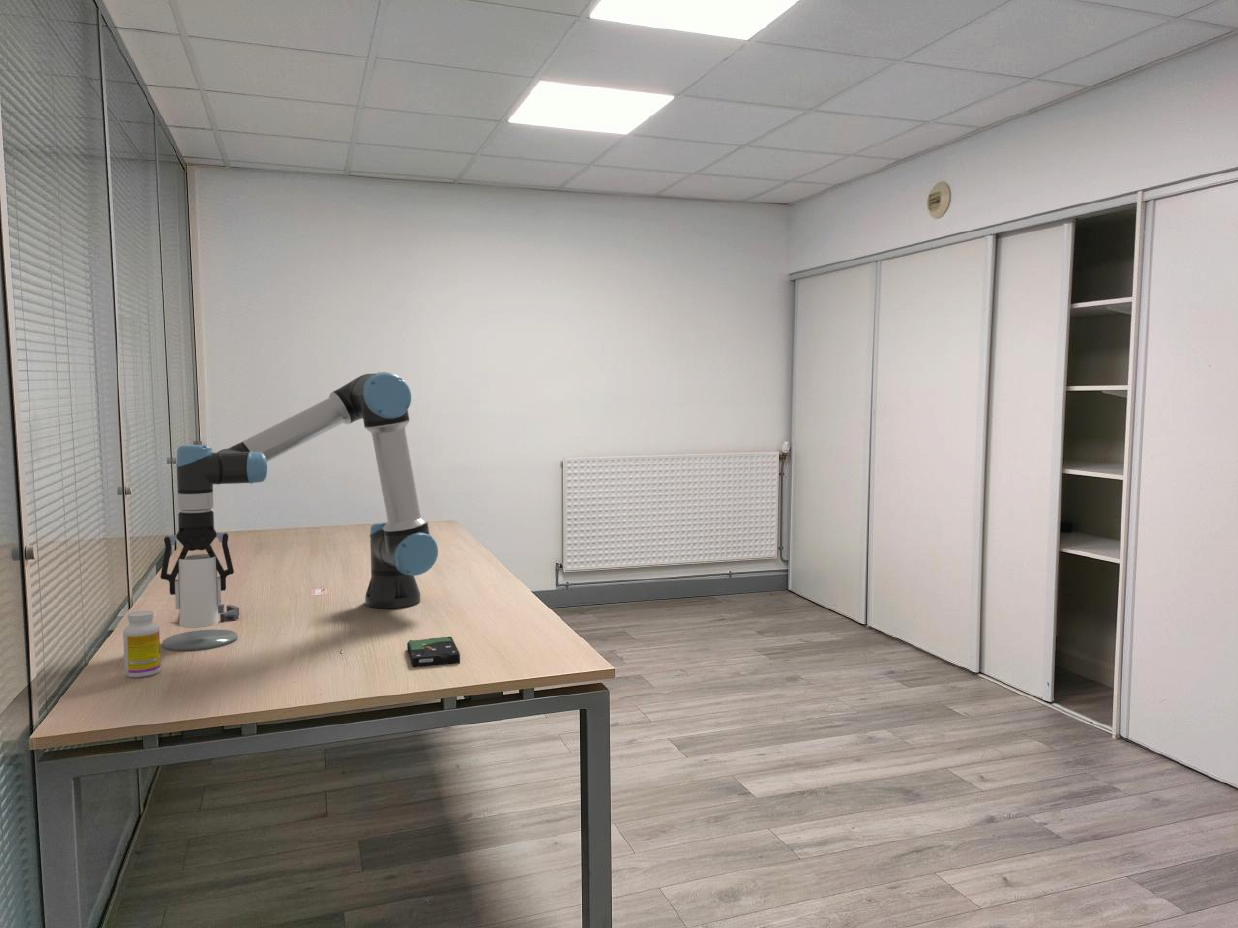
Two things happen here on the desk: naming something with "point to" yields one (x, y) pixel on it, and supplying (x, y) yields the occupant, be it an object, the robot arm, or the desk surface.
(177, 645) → the coaster
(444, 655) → the disk drive
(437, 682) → the desk surface
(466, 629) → the desk surface
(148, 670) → the supplement bottle
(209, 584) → the cup
